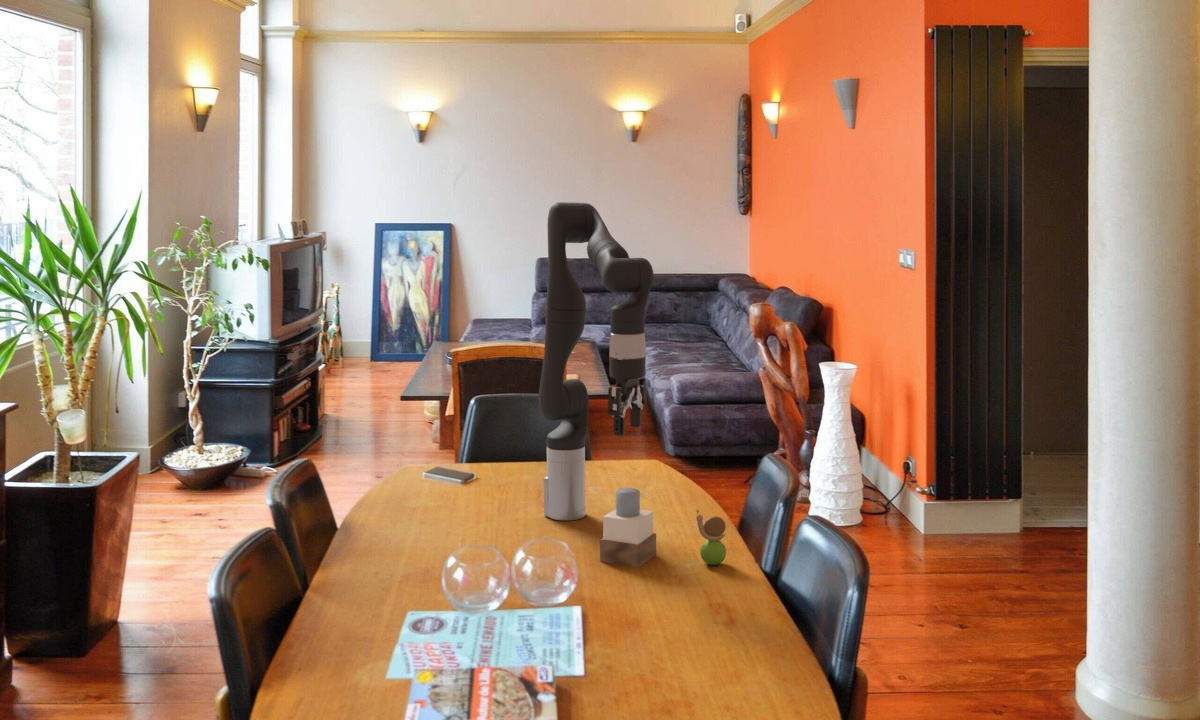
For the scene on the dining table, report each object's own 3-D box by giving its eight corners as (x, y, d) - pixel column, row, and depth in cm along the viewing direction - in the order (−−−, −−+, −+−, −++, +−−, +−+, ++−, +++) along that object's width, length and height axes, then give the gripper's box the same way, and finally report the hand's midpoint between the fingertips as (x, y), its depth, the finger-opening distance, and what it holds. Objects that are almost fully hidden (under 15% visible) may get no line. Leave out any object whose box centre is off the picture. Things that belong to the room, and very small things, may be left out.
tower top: (603, 539, 225) (603, 516, 225) (619, 528, 233) (619, 506, 232) (637, 544, 222) (637, 521, 221) (653, 533, 229) (653, 511, 228)
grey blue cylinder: (612, 515, 225) (612, 492, 224) (621, 509, 230) (621, 486, 229) (634, 518, 223) (634, 495, 222) (643, 511, 228) (643, 489, 227)
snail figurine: (693, 560, 226) (693, 505, 224) (723, 559, 227) (724, 505, 225) (697, 569, 221) (698, 513, 219) (728, 568, 221) (729, 512, 220)
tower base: (600, 562, 226) (599, 539, 225) (618, 549, 234) (618, 527, 233) (638, 568, 222) (638, 545, 221) (656, 555, 230) (656, 533, 229)
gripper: (625, 349, 229) (625, 422, 232) (596, 358, 216) (596, 436, 219) (657, 351, 226) (657, 425, 228) (630, 360, 213) (630, 439, 216)
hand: (627, 430), depth 224 cm, fingers open, 8 cm apart
